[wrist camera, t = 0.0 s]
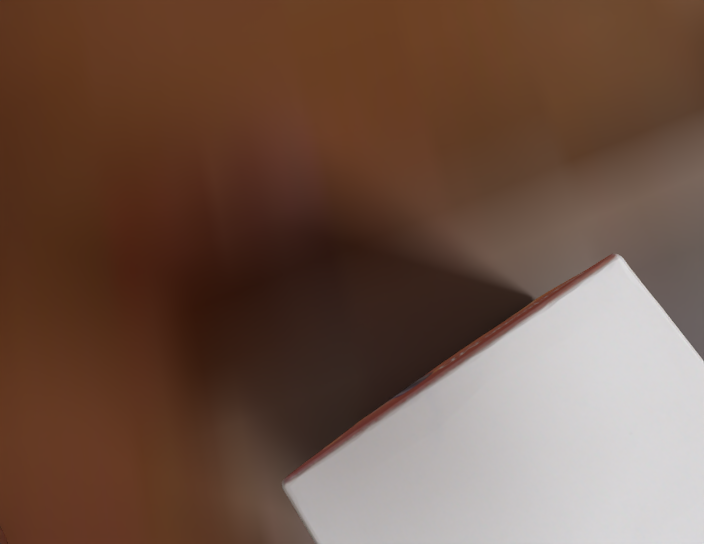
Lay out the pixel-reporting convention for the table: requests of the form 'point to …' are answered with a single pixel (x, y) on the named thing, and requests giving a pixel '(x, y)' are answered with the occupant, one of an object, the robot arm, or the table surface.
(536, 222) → the table surface
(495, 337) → the small box
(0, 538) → the pale pink cylinder
